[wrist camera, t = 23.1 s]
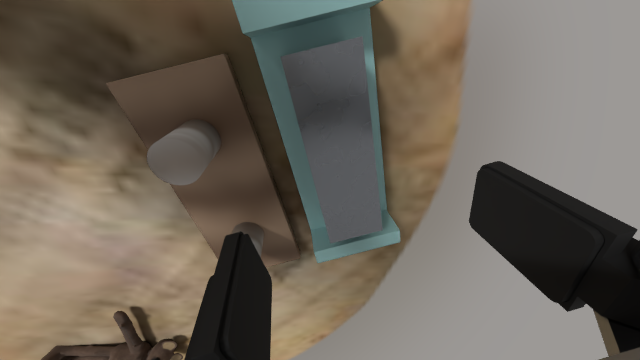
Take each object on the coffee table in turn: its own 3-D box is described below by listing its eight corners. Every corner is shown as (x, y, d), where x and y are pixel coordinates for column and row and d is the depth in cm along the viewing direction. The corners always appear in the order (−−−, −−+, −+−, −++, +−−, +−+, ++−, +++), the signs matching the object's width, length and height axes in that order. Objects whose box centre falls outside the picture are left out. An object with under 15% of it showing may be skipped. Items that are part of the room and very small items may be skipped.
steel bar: (281, 56, 16) (280, 56, 12) (345, 40, 16) (362, 35, 12) (323, 214, 22) (330, 243, 19) (367, 203, 22) (382, 230, 19)
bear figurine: (-9, 335, 22) (147, 337, 23) (38, 294, 26) (170, 298, 27) (69, 410, 31) (181, 410, 32) (96, 371, 34) (195, 372, 35)
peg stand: (115, 81, 16) (41, 93, 11) (227, 53, 16) (201, 52, 11) (231, 269, 26) (218, 318, 21) (300, 251, 26) (303, 296, 21)
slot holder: (244, 12, 15) (231, -1, 11) (362, -18, 15) (385, -40, 12) (313, 234, 25) (317, 263, 21) (384, 215, 25) (400, 242, 21)
